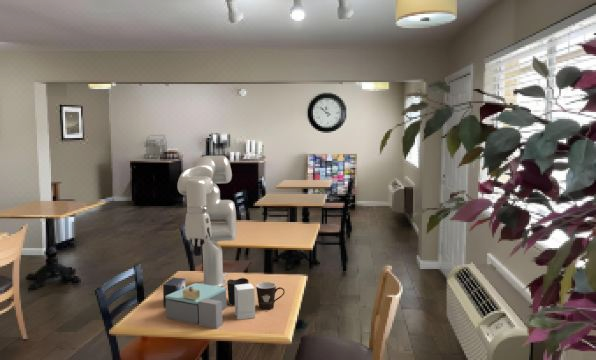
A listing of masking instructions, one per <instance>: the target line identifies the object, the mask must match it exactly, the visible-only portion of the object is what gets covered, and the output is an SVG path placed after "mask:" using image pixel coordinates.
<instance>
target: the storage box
mask: <svg viewBox="0 0 596 360" xmlns="http://www.w3.org/2000/svg"><path fill="white" fill-rule="evenodd" d="M226 309H227V290H226V291H224V292H222V293H220V294H217V295H215V296H213V297H211V298H209V299H206V298H204V299H202V300H200V301H198V304H193V303H188V302H183V301H177V300H172V299H166V307H165V310H166V311H165V312H166V314H165V315H166V319H168V320H172V321H176V322H177V321H178V322H183V323H187V324H193V325H196V326H198V325H199V326H202V327H207V328H212V329H219V328H220V327H222V326H223V311H224V310H226Z"/></svg>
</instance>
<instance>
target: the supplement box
mask: <svg viewBox="0 0 596 360" xmlns="http://www.w3.org/2000/svg"><path fill="white" fill-rule="evenodd" d="M234 291H235V306H234V315H235V317H236V318H237V320H246V319H247V320H249V319H254V318H256V304H255V302H256V299H255V297H256V295H255V286H254V285H253V284H252V283H248V284H240V285H234Z"/></svg>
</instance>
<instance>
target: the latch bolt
mask: <svg viewBox="0 0 596 360" xmlns="http://www.w3.org/2000/svg"><path fill="white" fill-rule="evenodd" d="M199 297H200V292H199V290H195V289H193V287H189V288H187V289H185V290H183V298H188V299H194V300H196V299H197V298H199Z"/></svg>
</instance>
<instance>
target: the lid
mask: <svg viewBox="0 0 596 360" xmlns="http://www.w3.org/2000/svg"><path fill="white" fill-rule="evenodd" d="M189 287H193V289H195V290H199V292H200V297H199V298H197V299H196V300H194V299H188V298H183V290H185V289H187V288H189ZM224 291H226V292H227V288H226V287H224V286H223V287H218V286H211V285H205V284H201V283H199V282H198V283H197V282H195V283H192V284H190V285H188V286H186V287H185V288H183V289H180V290H178V291H176V292H173V293H171V294H169V295H166V296H165V298H166V299H172V300H177V301H183V302H188V303H193V304H198V301H200V300H202V299H204V298H206V299H209V298H211V297H213V296H215V295H217V294H220V293H222V292H224Z"/></svg>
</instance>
